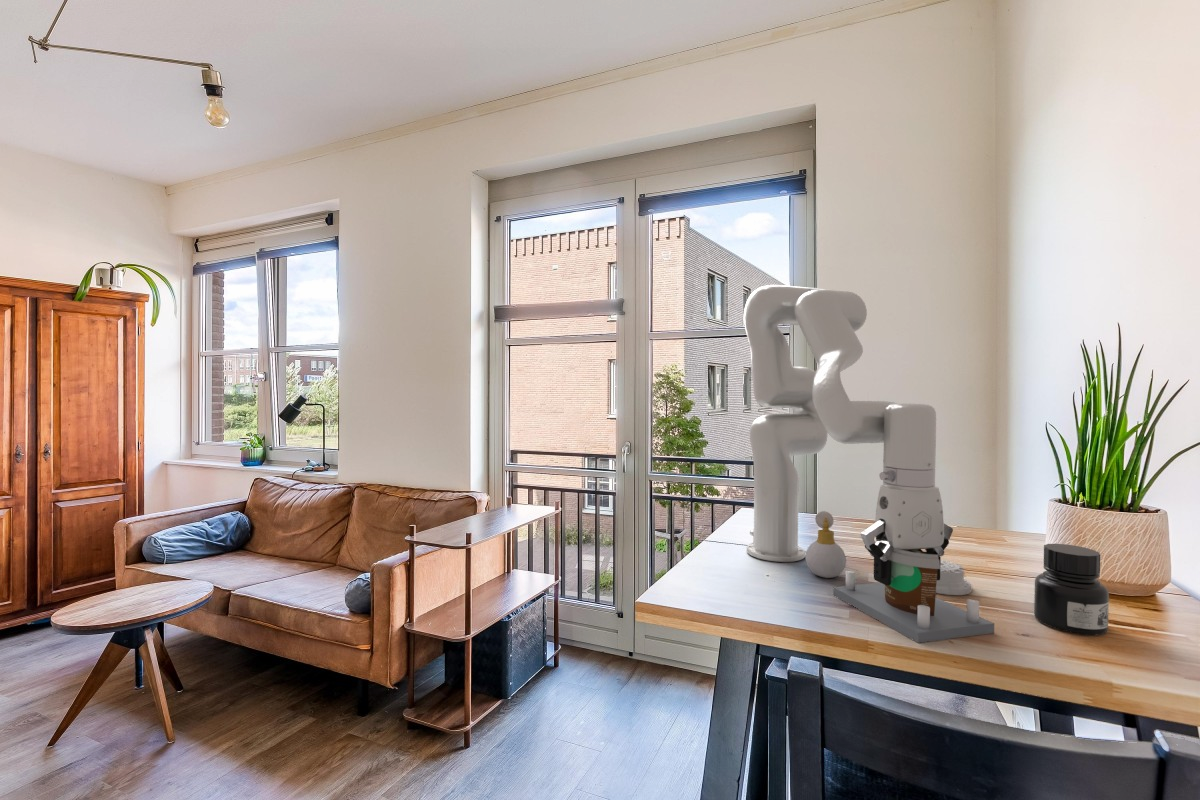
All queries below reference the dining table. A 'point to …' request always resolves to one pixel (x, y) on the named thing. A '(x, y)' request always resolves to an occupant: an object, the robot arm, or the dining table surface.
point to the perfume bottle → (825, 550)
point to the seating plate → (915, 626)
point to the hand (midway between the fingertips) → (906, 580)
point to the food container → (912, 580)
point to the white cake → (952, 580)
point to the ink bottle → (1071, 591)
